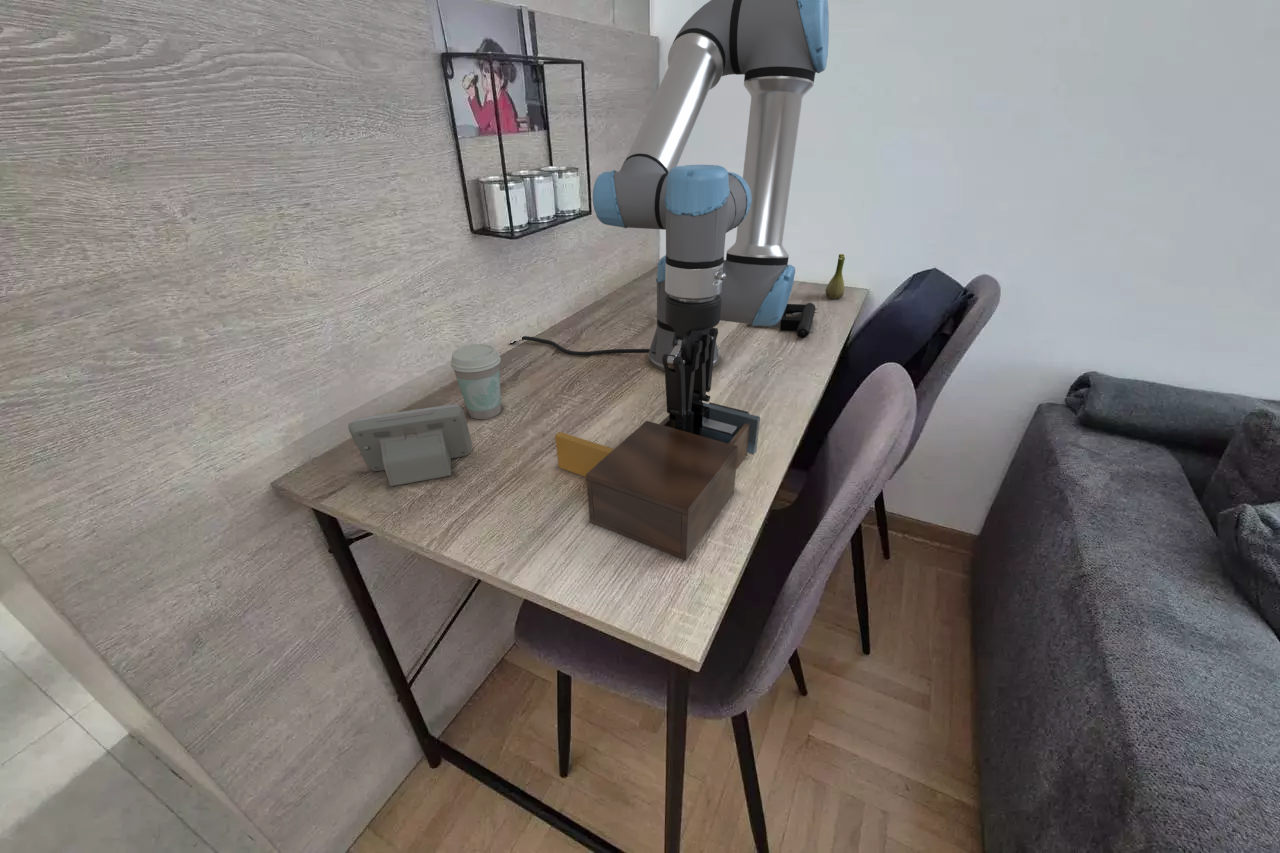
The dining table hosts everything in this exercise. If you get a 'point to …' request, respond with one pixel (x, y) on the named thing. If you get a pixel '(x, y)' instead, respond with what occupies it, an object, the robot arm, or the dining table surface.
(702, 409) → the black rectangular block
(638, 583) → the dining table surface
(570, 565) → the dining table surface
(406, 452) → the digital clock
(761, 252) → the robot arm
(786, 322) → the door handle
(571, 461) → the upright yellow panel
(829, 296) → the green gourd
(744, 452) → the drawer
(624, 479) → the cabinet
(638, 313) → the dining table surface
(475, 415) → the coffee cup
